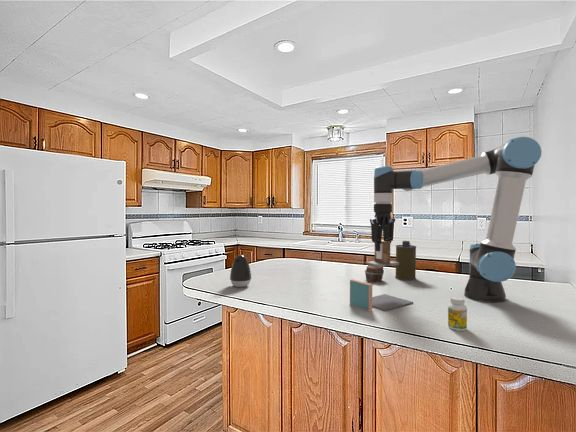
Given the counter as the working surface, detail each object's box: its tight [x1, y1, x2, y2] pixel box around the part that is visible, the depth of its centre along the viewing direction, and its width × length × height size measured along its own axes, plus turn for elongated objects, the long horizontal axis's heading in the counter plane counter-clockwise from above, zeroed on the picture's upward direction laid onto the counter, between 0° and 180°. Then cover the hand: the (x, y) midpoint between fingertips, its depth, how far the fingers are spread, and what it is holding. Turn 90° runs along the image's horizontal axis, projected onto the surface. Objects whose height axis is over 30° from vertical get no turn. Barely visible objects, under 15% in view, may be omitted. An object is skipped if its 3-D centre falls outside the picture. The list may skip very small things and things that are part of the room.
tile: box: [349, 278, 373, 312], centre depth 126 cm, size 10×2×10 cm, turn 35°
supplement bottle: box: [447, 296, 468, 332], centre depth 106 cm, size 5×5×10 cm
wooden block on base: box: [364, 240, 399, 268], centre depth 141 cm, size 12×8×10 cm, turn 122°
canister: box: [394, 240, 417, 281], centre depth 177 cm, size 11×10×20 cm
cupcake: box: [364, 265, 385, 283], centre depth 172 cm, size 10×10×10 cm
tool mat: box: [372, 293, 414, 312], centre depth 133 cm, size 14×17×1 cm
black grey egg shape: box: [229, 254, 252, 288], centre depth 159 cm, size 10×10×15 cm
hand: (382, 258), depth 141 cm, fingers closed on wooden block on base, 3 cm apart
